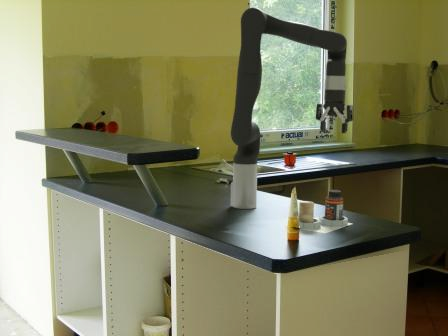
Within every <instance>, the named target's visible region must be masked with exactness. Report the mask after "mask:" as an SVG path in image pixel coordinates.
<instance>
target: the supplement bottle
mask: <svg viewBox="0 0 448 336" xmlns="http://www.w3.org/2000/svg"><path fill="white" fill-rule="evenodd" d="M341 194H342V193H341V190H338V189H329V190H328V196H326V197H325V204H324V206H325V207H324V215H325V219H327V220H342V216H343V212H344V198H343V197H342V196H341Z"/></svg>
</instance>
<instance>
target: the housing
mask: <svg viewBox="0 0 448 336" xmlns="http://www.w3.org/2000/svg"><path fill="white" fill-rule="evenodd" d="M351 225H354V224H353V223H351V222H349V219H348V217H346V216H345V215H344V216H343V215H342V220H327V219H325V214H324V215H321V216H318V217H314V216H313V223H302V222H299V226H300V229H299V230H304V231H309V232H315V233H321V234H328V233H331V232H333V231H337V230H339V229H342V228H345V227H348V226H351ZM287 226H288V225H285V227H286V228H288V227H287Z"/></svg>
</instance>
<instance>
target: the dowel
mask: <svg viewBox="0 0 448 336" xmlns="http://www.w3.org/2000/svg"><path fill="white" fill-rule="evenodd" d="M314 208H315V203H314V202H313V201H308V200H304V201H303V200H302V201H299V203H298V217H299V222H302V223H313V218H314V216H315V215H314V210H315V209H314Z"/></svg>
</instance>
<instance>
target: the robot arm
mask: <svg viewBox="0 0 448 336" xmlns="http://www.w3.org/2000/svg"><path fill="white" fill-rule="evenodd" d="M263 35H269V36H270V35H271V36H276V37H280V38H283V39H286V40H289V41H291V42H296V43H297V44H301V45H305V46H310V47H315V48H320V49H323V50H326V51H327V62H326V65H325V67H326V68H325V79H324V99H323V100H324V103H316V108H315V109H316V110H315V120H317V121H319V123H320V125H319V130H320V131H321V132H322V133H325V132H327V131H326V130H327V120H328V118H330V117H338V118H339V119H340V121H341V122H342V123H341V134H347V132H348V124H349V123H351V122H353V121H354V110H353V109H354V108H353V107H354V106H353V104H345V102H346V88H347V87H346V86H347V85H346V83H347V82H346V68H347V67H346V59H347V58H346V56H347V49H348V48H347V47H348V46H347V44H348V41H347V38H346V36H345V35H344V34H342V33H340V32H338V31H337V32H336V31H333V30H329V29H328V30H327V29H321V28H319V27H316V26H314V25H313V26H312V25H309V24H305V23H301V22H296V21H291V20H290V21H289V20H284V19H281V18H278V17H275V16H273V15H270V14H269V13H266V12H265V11H263V10H262V9H260V8H258V7H248V8H247V9H245V10H244V12H243V13H242V14H241V18H240V48H239V49H240V51H239V56H238V65H237V73H236V74H237V76H236V88H235V97H234V98H235V100H234V102H235V103H234V109H233V117H232V123H231V127H230V137H231V140H232V143H233V144H234V145H236V146H237V150H236V151H235V152H236V153H235V154H234V155H233V159H232V161H233V162H232V164H233V170H232V173H233V175H232V181H231V182H230V207H232V208H234V209H241V210H247V209H248V210H249V209H255V208H257V198H258V197H257V196H258V195H257V193H258V192H257V191H258V158H259V156H260V149H261V130H260V126H259V125H258V124H257V122H255V121H253V113H254V112H253V111H254V107H255V105H256V101H257V99H258V96H259V93H260V91H261V87H262V79H263V78H262V76H263V64H262V63H263V61H262V55H261V53H262V52H261V42H262V37H263ZM323 110H324V112H323ZM344 111H346V113H345V112H344Z"/></svg>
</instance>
